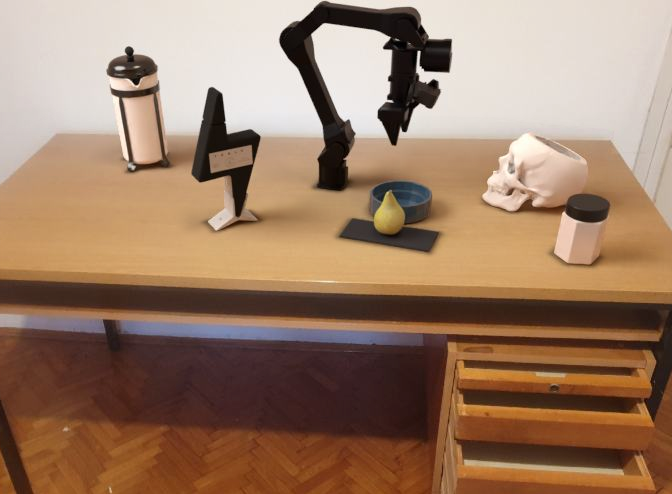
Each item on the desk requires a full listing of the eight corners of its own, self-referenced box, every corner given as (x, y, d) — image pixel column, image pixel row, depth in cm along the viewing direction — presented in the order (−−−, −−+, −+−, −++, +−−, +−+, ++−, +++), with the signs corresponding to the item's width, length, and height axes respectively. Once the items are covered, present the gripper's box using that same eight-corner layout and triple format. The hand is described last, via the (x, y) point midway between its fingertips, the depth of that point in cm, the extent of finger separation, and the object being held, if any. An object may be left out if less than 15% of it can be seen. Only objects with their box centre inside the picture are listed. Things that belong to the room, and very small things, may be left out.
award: (205, 233, 157) (189, 98, 139) (196, 224, 161) (180, 91, 143) (266, 218, 163) (258, 86, 145) (256, 209, 166) (248, 79, 149)
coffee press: (188, 156, 194) (174, 42, 176) (148, 177, 183) (129, 57, 165) (141, 145, 202) (123, 34, 184) (101, 164, 191) (78, 48, 173)
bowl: (361, 219, 161) (362, 201, 158) (379, 194, 172) (380, 177, 169) (421, 228, 157) (423, 210, 154) (436, 202, 167) (438, 185, 164)
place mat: (339, 237, 154) (339, 235, 154) (352, 219, 161) (352, 218, 161) (428, 252, 148) (428, 250, 148) (438, 233, 155) (438, 231, 155)
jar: (565, 241, 151) (577, 189, 143) (603, 252, 146) (617, 199, 139) (548, 257, 145) (559, 204, 138) (586, 269, 141) (600, 215, 134)
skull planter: (473, 180, 172) (522, 113, 161) (541, 219, 175) (593, 156, 163) (474, 205, 161) (527, 135, 150) (546, 245, 164) (603, 180, 153)
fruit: (403, 226, 157) (407, 175, 150) (404, 242, 151) (408, 190, 144) (373, 225, 158) (375, 175, 150) (373, 241, 152) (375, 189, 144)
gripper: (429, 85, 147) (423, 157, 156) (448, 62, 161) (441, 129, 170) (378, 80, 151) (375, 151, 160) (401, 58, 164) (397, 124, 174)
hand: (399, 138), depth 166 cm, fingers open, 9 cm apart
